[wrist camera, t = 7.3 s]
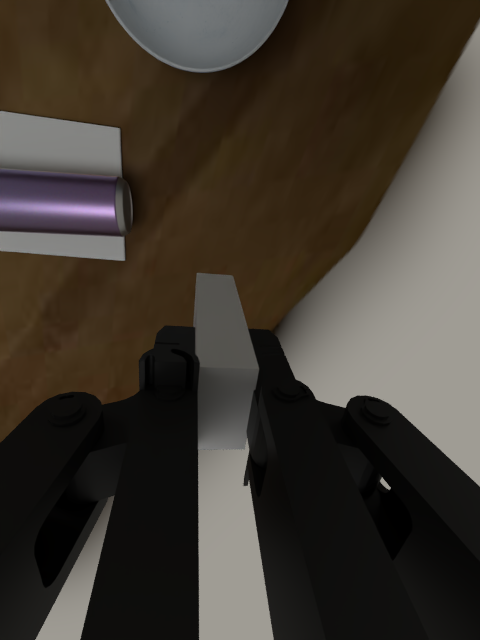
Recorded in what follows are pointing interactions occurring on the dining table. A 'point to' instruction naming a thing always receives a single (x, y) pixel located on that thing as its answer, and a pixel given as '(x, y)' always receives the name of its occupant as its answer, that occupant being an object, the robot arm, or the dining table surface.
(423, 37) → the dining table surface
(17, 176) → the beverage can
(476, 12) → the dining table surface
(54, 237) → the flat grey rectangular board
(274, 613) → the robot arm
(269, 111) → the dining table surface
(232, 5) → the chinaware
